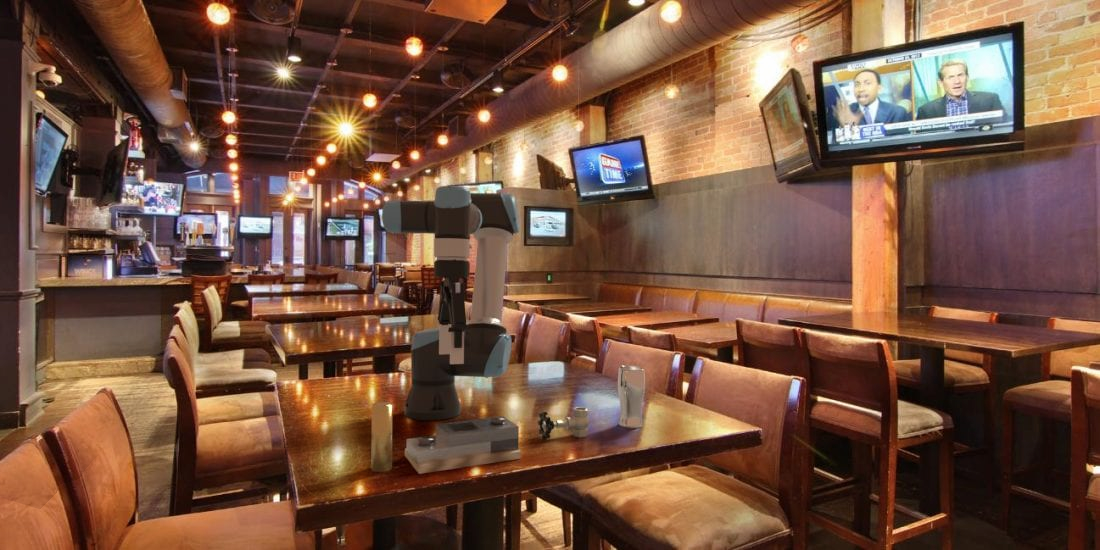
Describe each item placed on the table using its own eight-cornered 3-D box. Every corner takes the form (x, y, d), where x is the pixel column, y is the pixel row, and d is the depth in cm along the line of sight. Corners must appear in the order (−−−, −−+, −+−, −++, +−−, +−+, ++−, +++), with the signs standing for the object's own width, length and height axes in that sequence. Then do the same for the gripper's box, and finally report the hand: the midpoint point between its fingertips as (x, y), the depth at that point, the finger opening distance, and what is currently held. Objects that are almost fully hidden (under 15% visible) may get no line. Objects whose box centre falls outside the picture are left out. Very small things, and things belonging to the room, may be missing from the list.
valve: (582, 431, 149) (537, 435, 144) (582, 404, 148) (537, 408, 144) (594, 438, 142) (547, 443, 138) (594, 411, 142) (548, 415, 138)
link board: (419, 473, 117) (419, 466, 117) (404, 455, 128) (404, 448, 128) (521, 458, 127) (521, 451, 127) (499, 442, 138) (499, 436, 138)
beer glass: (643, 429, 150) (644, 370, 150) (615, 427, 151) (616, 369, 151) (644, 422, 157) (645, 365, 156) (618, 420, 158) (619, 364, 158)
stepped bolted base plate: (417, 463, 118) (417, 434, 118) (406, 450, 126) (406, 422, 126) (518, 449, 128) (518, 421, 128) (502, 437, 136) (502, 411, 136)
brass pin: (367, 470, 119) (367, 405, 118) (380, 464, 122) (380, 401, 122) (383, 473, 117) (383, 407, 117) (396, 466, 121) (396, 403, 120)
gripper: (482, 259, 116) (481, 367, 117) (458, 259, 140) (457, 349, 140) (444, 258, 114) (442, 369, 114) (426, 259, 137) (424, 351, 138)
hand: (450, 358), depth 127 cm, fingers open, 13 cm apart
